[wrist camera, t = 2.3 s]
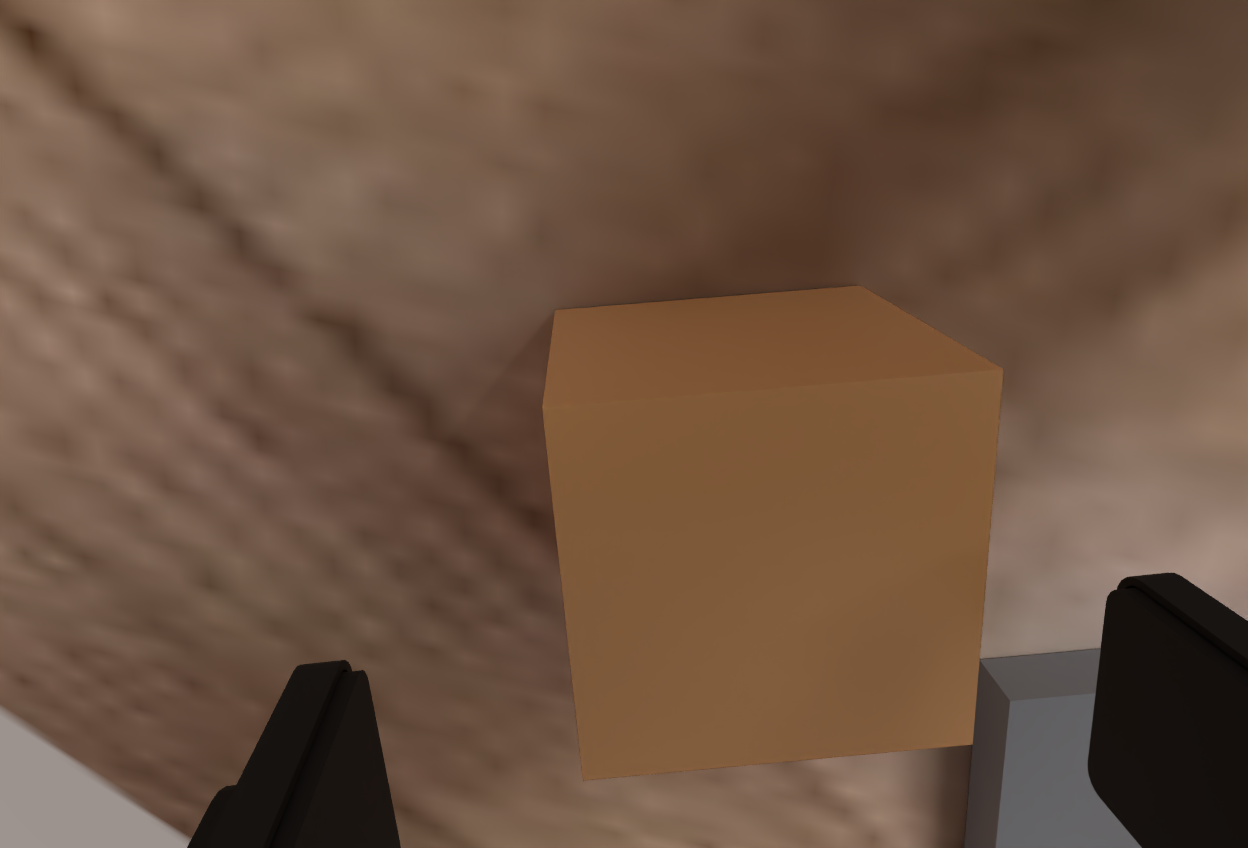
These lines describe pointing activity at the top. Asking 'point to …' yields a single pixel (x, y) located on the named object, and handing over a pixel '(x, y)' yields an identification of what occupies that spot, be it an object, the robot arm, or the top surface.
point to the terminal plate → (1037, 756)
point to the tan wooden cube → (768, 528)
